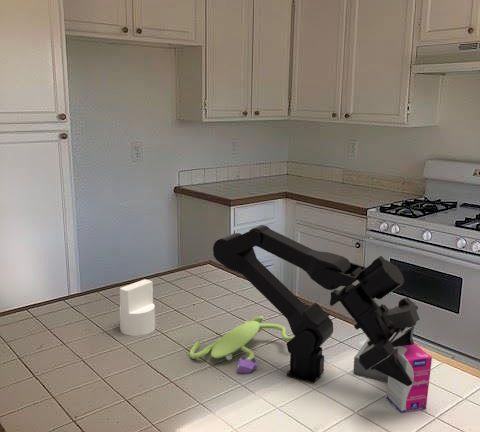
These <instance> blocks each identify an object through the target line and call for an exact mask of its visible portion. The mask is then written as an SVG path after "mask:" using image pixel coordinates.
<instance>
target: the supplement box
mask: <svg viewBox="0 0 480 432" xmlns="http://www.w3.org/2000/svg"><path fill="white" fill-rule="evenodd" d="M393 348H394V350H395V349H397V348H398V360H399V362H400V363H401V365H402V366H403V368H404V370H405V371H406V373H407V374H408V376H409V378H410V379H411V381H412V384H411V385H410V386H406V385H405V384H403V383H401V382H399V381H397V380H395V379H394V378H392V377H390V376H388V383H387V386H386V387H387V388H386V400H388V402H390V404H392V406H393V407H395V409H396V410H398V412H399V413H407V412H412V411H413V412H414V411H418V410H426V409H427V404H428V402H427V401H428V395H429V387H430V378H431V369H432V360H433V356H431V355H430V354H428V353H427V352H426V351H425V350H423V349H422V348H421V347H420V346H419V345H417V344H416V343H414V345H406V346H397V347H393ZM394 350H393V351H394Z"/></svg>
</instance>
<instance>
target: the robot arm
mask: <svg viewBox="0 0 480 432" xmlns="http://www.w3.org/2000/svg"><path fill="white" fill-rule="evenodd" d="M255 247H258V248H259V249H262V250H264V251H266V252H268V253H270V254H271V255H273V256H276V257H277V258H280V259H281V260H284V261H286V262H287V263H289V264H291V265H294V266H296V267H297V268H299V269H301V270H303V271H304V272H305V273H306V274H307V275H308V277H309V278H310V280H312V281H313V282H315V283H316V284H318V285H319V286H320V287H322V288H323V289H324V290H329V291H331V292H330V300H329V301H330V302H329V306H330V307H333V306H335V305H336V304H337V303H338V302H339V303H341V305H342V306H343V308H344V309H345V310H346V311H347V313H348V314H349V315H350V316H351V318H352V319H353V320H354V321H355V324H354V325H353V327H354V328H355V330H357V331H358V330H359V329H360V330H362V332H363V334H364V335H365V336H366V337H367V339H368V338H369V341H368V342H367V344H368V345H369V347H368V348H366V349H365V350H364V351H363V352H362V354H361V355H360V356H359V363H360V364H361V365H362V367H363V368H364V369H365V370H367V369H369V368H370V369H372V370H373V369H375V370H377V371H379V372H382V373H384V374H386V375H388V376H390V377H392V378H394V379H395V380H397V381H399V382H401V383H403V384H405V385H406V386H410V385H411V384H412V381H411V379H410V378H409V376H408V374H407V373H406V371H405V370H404V368H403V366H402V365H401V363H400V362H399V360H398V348H397V349H395V350H394V348H393V347H397V346H406V345H414V344H415V342H414V339H413V335H414V331H415V326H416V325H417V322H418V321H420V316H419V313H418V310H419V306H418V305H416V303H415V302H414V301H412V299H410V298H409V297H403V298H401V299H400V300H399V301H398V305H397V306H394V307H393V308H388V307H387V305H385V304H383V303H381V304H378V303H377V301H376V300H375V299H377V300H382V299H383V298H385V297H386V296H388V295H389V294H391V293H393V291H395V290H396V289H397V288H400V287H401V286H402V285H404V283H405V278H404V275H403V273H402V271H401V270H400V269H399V267H398V266H397V264H396V265H395V264H394V263H393V262H391V261H390V260H388V259H385V257H383V256H382V255H379V256H378V257H377V258H375V259H374V260H373V261H372V262H371V264H369V265H368V266H367V267H366V266H363V265H360V264H356V263H354V262H351V261H350V260H349V259H348V258H347V257H345V256H342V255H340V254H336V253H332V252H330V251H329V252H328V251H320V250H315V249H313V248H311V247H308V246H306V245H304V244H302V243H300V242H297V241H296V240H294V239H293V238H290V237H287V236H285V235H284V234H281V233H279V232H277V231H275V230H273V229H271V228H270V227H269V226H267V225H264V224H260V225H258V226H255V227H252V228H251V229H249V231H245V232H244V233H241V232H235V233H231V234H229V235H227V236H224V237H221V238H219V239H217V240H215V242H214V244H213V247H212V255H213V258H214V259H215V260H216V261H217V262H218V263H220V264H221V265H222V266H224V267H225V268H226V269H228V270H230V271H233V272H236V273H238V274H241V276H243V278H245V279H246V280H247V281H248V282H249V283H250V285H252V286H253V287H254V288H255V289H256V290H257V291H258V292H259V293H260V294H261V295H263V297H264V298H265V299H266V300H267V301H268V302H269V303H271V305H272V306H273V307H274V308H275V309H276V310H277V311H278V312H279V313H281V314H282V315H283V316H284V318H285V319H286V320H287V322H288V325H289V327H290V329H291V330H290V331H291V333H292V334H293V336H292V337H293V338H292V339H291V340H290V341H287V342H286V343H285V344H286V349H287V351H288V354H289V353H290V355H289V356H290V358H289V370H288V371H287V373H286V376H287V377H289V378H294V379H297V380H301V381H305V382H308V383H312V384H314V383H316V381H318V380H319V378H321V376H322V375H323V374H324V372H325V355H324V354H323V347H321V346H322V345H324V344H325V342H326V341H328V339H329V338H330V337H331V336H332V335H333V333H334V322H333V320H332V319H331V318H330V316H331V315H330V313H327V312H326V311H324V309H323V308H322V307H321V306H320V305H319V304H318V303H317V302H314V303H313V304H312V305H308V304H306V303H304V302H302V301H301V300H300V299H299V298H298V297H297V296H296V295H295V294H294V293H293V292H292V291H290V289H289V288H287V286H286V285H284V283H282V281H281V280H280V279H278V278H277V277H276V276H275V275H274V274H273V273H272V272H271V271H270V270H269V269H268V268H267V267H266V266H265V265H264V264H263V263H262V262H261V261H260V260H259V259H258V258H257V255H256V253H255V249H254V248H255ZM356 281H358V283H356V284H353V283H355V282H356ZM340 287H342V288H341V289H340V290H339V289H338V288H340ZM393 350H394V351H393Z"/></svg>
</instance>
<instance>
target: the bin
mask: <svg viewBox="0 0 480 432" xmlns="http://www.w3.org/2000/svg"><path fill="white" fill-rule="evenodd" d="M368 341H369V338H368V337H367V339H366V341H365V342H364V343H363V344H362V346H361V347H360V349H359V350H358V351H357V353H356V354H355V355H354V358H353V372H352V373H353V375H357V376H361V377H365V378H369V379H372V380H377V381H379V382H384V383H387V384H388V375H386V374H384V373H382V372H379V371H377V370H375V369H373V370H372V369H370V368H369V369H367V370H365V369H364V368H363V367H362V365H361V364H360V363H359V356H360V355H361V354H362V352H363V351H364V350H365V349H366V348H368V347H369V345H368V344H367V342H368Z"/></svg>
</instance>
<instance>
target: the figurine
mask: <svg viewBox="0 0 480 432" xmlns="http://www.w3.org/2000/svg"><path fill="white" fill-rule="evenodd" d="M263 321H264V316H263V315H257V316H255V317H253V319H252V320H250V321H248V320H244V321H243V322H242V324H239V325H238V326H236V327H234V328H232V329H231V330H228V332H227V333H225V334H224V335H222V337H220V338H219V339H217V340H216V341H214V342H212V343H211V344H210V345H207V346H205V348H203V349H201V350H200V351H198V352H196V351H197V349H199V347H200V346H201V344H202V342H201V341H200V340H196V341H195V343H194V344H193V346H192V347H191V349H190V351H189V357H190V358H191V359H198V358H202V357H203V356H205V355H207V354H208V353H209V352H210V356H211V357H212V358H215V359H220V358H225V360H227V361H231V360H232V359H233V354H234V353H236V352H238V351H239V350H241V351H242V352H244V353H245V354H248V355H249V356H248V357H247V358H246V356H245V355H241V356H240V357H239V360H238V361H237V362H236V372H237V373H240V374H251V373H252V371H255V370H257V369H256V368H257V367H258V362H257V360H256V359H255V356H256V355H255V352H254V351H252V350H251V349H250V348H248V347H247V346H246V345H247V344H248V343H249V342H251V340H252V339H253V338H254V337H255V336H256V335H257V333H258V331H259V330H260V329H275V330H278V331H281V337H282V339H283V340H284V341H287V342H289V341H290V340H291V339H292V338H293V337H294V336H288V335H287V327H285V326H283V325H281V324H277V323H261V322H263ZM210 350H211V351H210Z"/></svg>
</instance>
